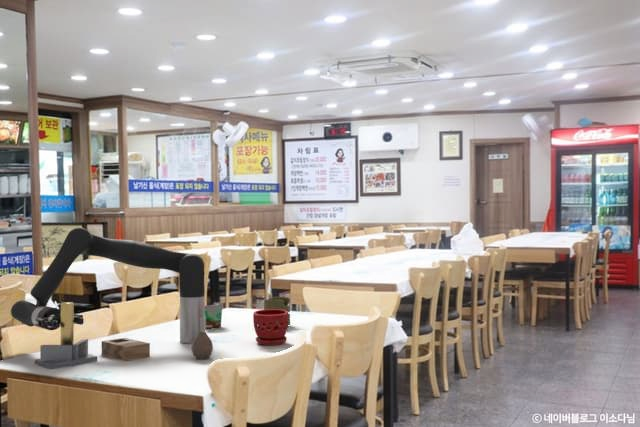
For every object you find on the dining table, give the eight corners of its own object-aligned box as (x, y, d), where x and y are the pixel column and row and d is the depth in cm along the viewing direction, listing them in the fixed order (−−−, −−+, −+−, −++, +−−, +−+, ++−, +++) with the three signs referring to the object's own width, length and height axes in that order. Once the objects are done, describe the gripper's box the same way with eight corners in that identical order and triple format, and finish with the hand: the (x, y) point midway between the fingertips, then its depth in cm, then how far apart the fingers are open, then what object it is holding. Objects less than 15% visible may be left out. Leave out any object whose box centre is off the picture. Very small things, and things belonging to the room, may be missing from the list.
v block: (98, 361, 223) (98, 341, 223) (50, 369, 211) (50, 348, 211) (81, 356, 231) (81, 337, 231) (34, 364, 219) (34, 344, 219)
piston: (258, 299, 289) (274, 296, 299) (258, 326, 289) (274, 323, 299) (279, 300, 283) (295, 297, 293) (279, 329, 283) (295, 325, 293)
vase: (203, 361, 222) (203, 334, 222) (187, 359, 225) (187, 332, 225) (217, 357, 227) (216, 331, 227) (201, 355, 231) (201, 329, 231)
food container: (217, 330, 282) (217, 306, 282) (203, 329, 283) (203, 305, 283) (227, 325, 294) (227, 302, 294) (214, 325, 295) (214, 302, 295)
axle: (75, 356, 223) (75, 302, 223) (71, 359, 219) (71, 303, 219) (63, 356, 223) (63, 302, 223) (58, 359, 219) (58, 303, 219)
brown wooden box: (101, 354, 234) (101, 341, 234) (124, 350, 240) (124, 337, 240) (126, 360, 223) (126, 347, 223) (149, 356, 229) (149, 343, 229)
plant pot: (248, 341, 255) (248, 310, 255) (281, 339, 261) (281, 308, 261) (259, 347, 243) (259, 314, 243) (293, 345, 249) (293, 312, 249)
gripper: (26, 309, 225) (48, 313, 214) (67, 304, 236) (90, 309, 224) (26, 331, 225) (48, 337, 214) (67, 326, 236) (90, 331, 224)
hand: (69, 322), depth 219 cm, fingers open, 8 cm apart
